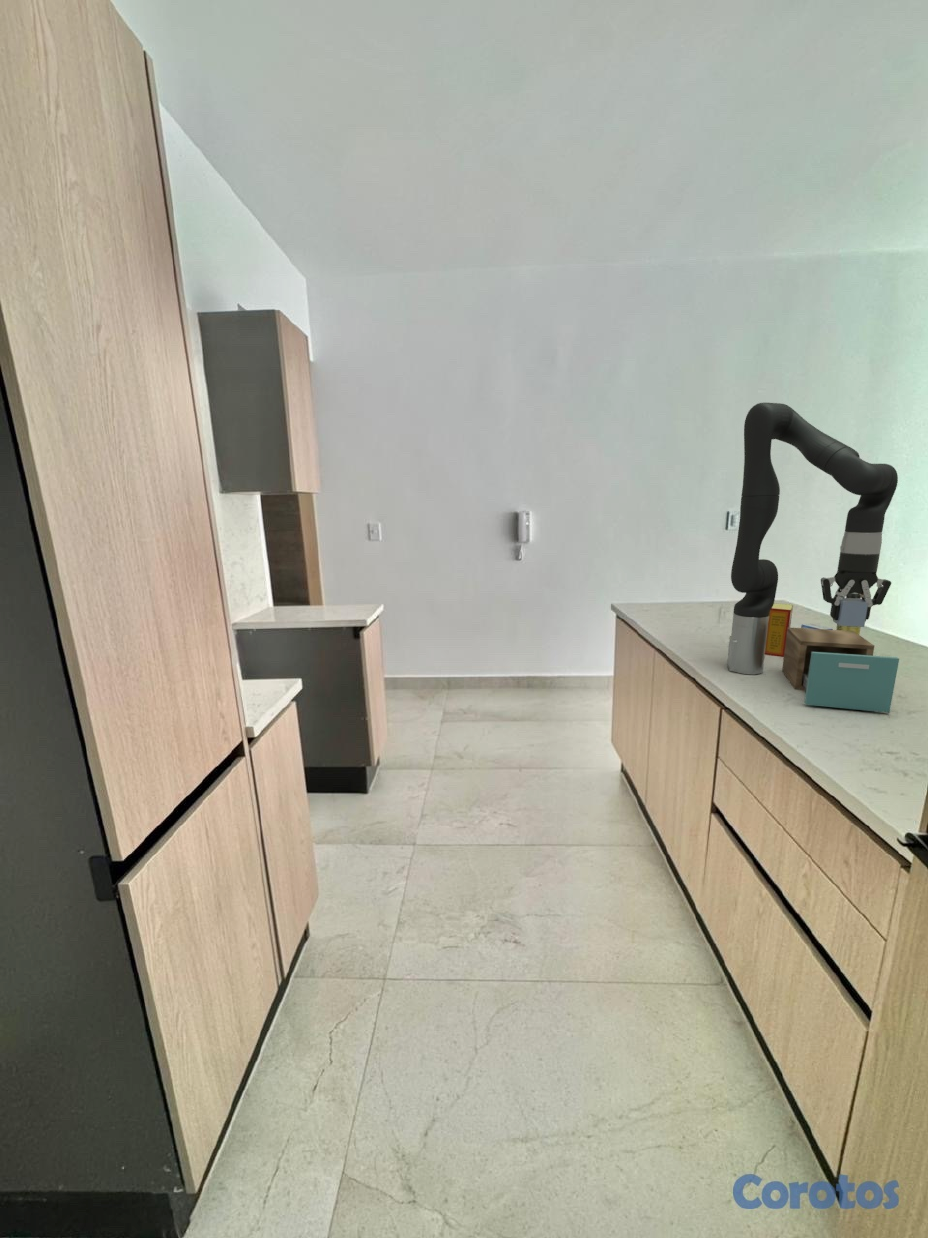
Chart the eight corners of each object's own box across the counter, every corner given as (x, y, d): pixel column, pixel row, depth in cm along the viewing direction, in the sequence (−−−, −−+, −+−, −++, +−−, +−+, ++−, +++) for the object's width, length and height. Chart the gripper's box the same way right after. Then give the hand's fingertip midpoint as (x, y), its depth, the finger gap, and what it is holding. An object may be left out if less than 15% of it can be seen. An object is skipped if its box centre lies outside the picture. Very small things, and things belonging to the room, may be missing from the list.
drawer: (805, 704, 125) (813, 653, 122) (790, 683, 139) (797, 637, 136) (889, 712, 119) (899, 659, 116) (865, 690, 133) (873, 641, 130)
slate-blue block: (839, 625, 123) (843, 601, 121) (832, 620, 127) (836, 597, 126) (864, 627, 121) (868, 602, 120) (856, 622, 126) (860, 598, 124)
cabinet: (794, 689, 137) (801, 641, 134) (781, 671, 150) (787, 627, 147) (866, 695, 131) (874, 645, 128) (846, 676, 145) (853, 630, 142)
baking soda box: (765, 647, 174) (770, 601, 170) (787, 649, 170) (793, 603, 166) (761, 654, 167) (767, 606, 163) (784, 657, 163) (790, 609, 159)
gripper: (829, 552, 119) (818, 622, 123) (904, 553, 114) (891, 626, 118) (819, 549, 126) (810, 615, 130) (890, 549, 121) (878, 618, 125)
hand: (848, 620), depth 124 cm, fingers closed on slate-blue block, 5 cm apart
